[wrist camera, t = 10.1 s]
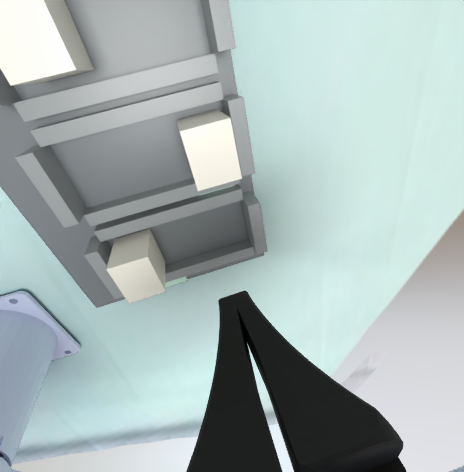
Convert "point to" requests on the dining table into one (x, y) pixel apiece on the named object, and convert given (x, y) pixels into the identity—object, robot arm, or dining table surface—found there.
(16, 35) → the tab
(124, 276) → the tab
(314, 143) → the dining table surface
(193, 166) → the tab
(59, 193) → the switch bank
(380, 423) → the robot arm
